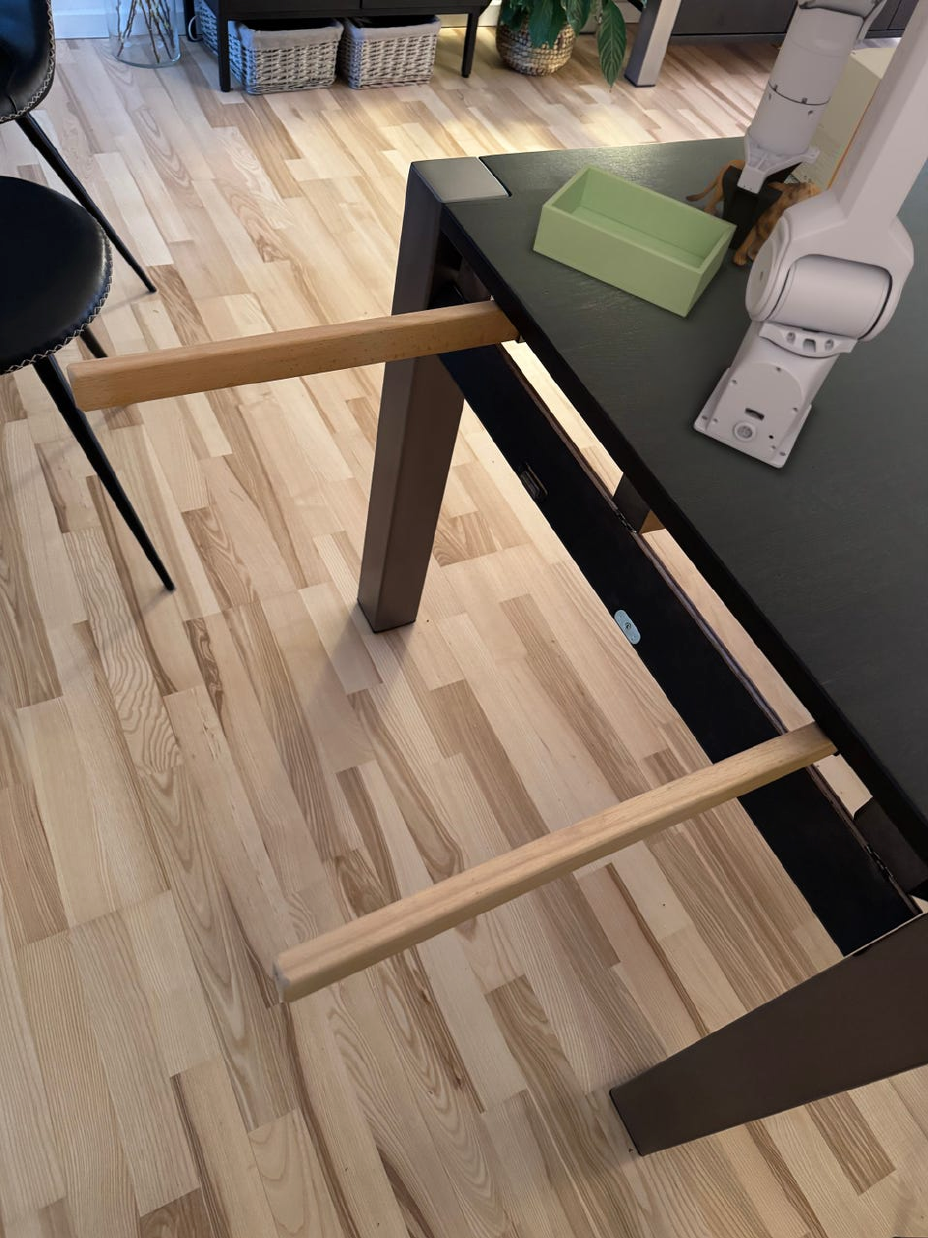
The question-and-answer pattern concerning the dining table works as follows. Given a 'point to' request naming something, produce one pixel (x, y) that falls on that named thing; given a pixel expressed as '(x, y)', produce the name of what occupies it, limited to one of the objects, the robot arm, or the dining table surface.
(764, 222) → the lion figurine
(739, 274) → the dining table surface
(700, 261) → the bin
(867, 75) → the small box
